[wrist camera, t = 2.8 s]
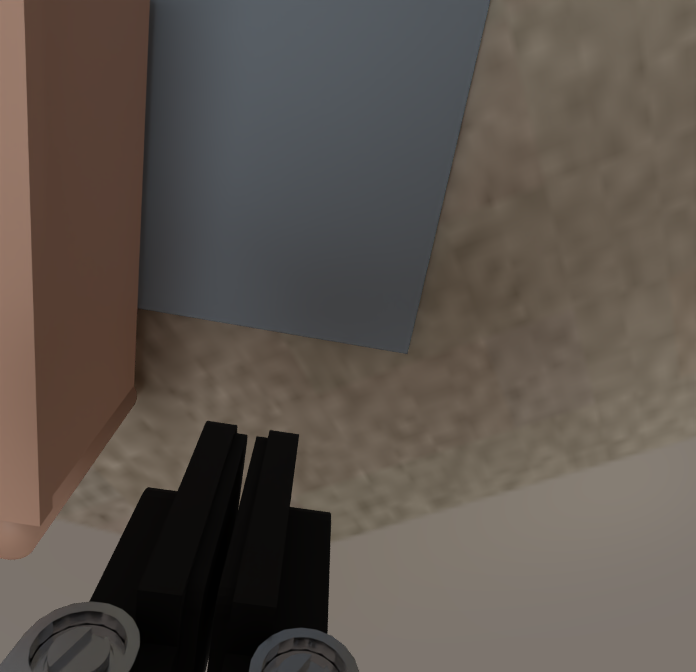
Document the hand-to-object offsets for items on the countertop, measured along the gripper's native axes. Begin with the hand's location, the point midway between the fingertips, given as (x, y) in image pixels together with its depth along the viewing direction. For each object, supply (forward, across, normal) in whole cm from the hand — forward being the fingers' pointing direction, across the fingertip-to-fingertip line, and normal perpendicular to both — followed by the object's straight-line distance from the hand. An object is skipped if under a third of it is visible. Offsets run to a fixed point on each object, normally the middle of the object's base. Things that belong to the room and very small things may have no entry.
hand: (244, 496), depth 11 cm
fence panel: (+8, +5, -2) cm, 10 cm away
